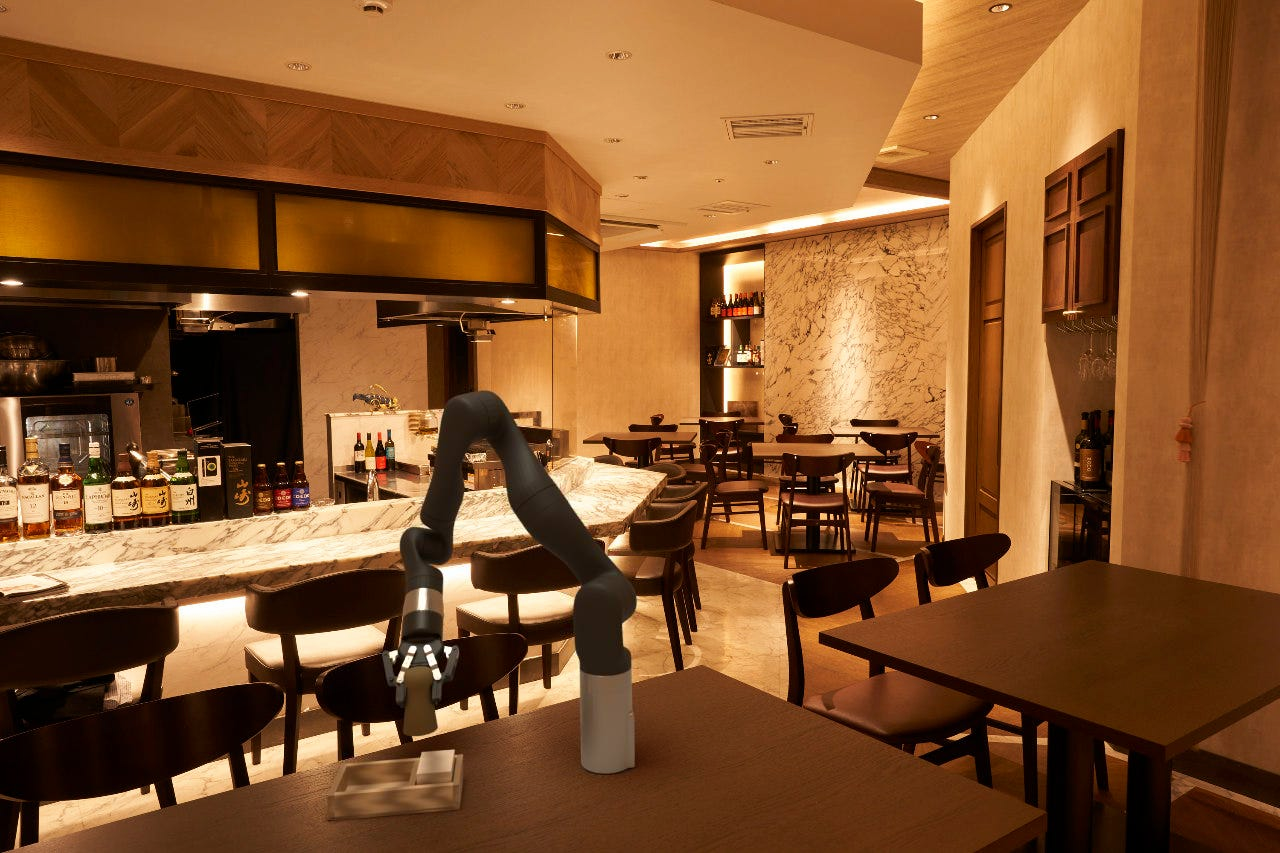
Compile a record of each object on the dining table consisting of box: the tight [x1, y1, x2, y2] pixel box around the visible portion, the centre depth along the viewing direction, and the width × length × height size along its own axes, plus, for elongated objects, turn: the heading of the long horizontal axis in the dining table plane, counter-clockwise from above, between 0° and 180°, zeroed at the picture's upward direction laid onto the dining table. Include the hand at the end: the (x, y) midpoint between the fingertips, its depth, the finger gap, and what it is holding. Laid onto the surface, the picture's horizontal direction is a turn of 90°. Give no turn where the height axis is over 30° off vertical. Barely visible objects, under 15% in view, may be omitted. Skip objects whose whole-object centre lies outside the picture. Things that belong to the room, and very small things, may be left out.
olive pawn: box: [402, 666, 439, 737], centre depth 146 cm, size 6×6×11 cm
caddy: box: [327, 749, 464, 821], centre depth 134 cm, size 20×11×6 cm, turn 99°
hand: (418, 704), depth 144 cm, fingers closed on olive pawn, 5 cm apart
